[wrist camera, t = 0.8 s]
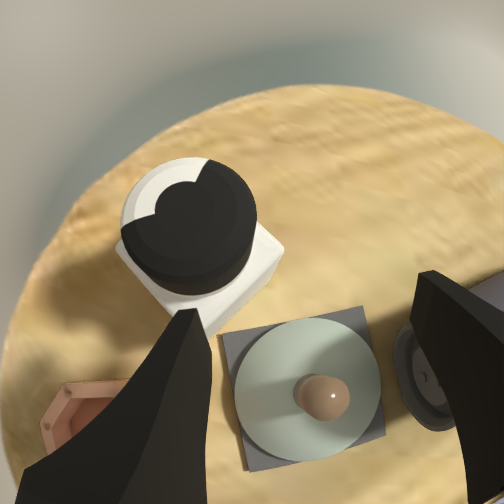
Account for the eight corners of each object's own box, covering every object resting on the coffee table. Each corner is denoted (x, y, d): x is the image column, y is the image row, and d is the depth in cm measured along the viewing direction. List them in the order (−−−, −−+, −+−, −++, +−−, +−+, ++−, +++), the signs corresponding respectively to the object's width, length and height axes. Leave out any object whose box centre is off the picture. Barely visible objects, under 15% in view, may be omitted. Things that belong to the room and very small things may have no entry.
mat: (384, 433, 21) (386, 434, 20) (249, 470, 20) (249, 472, 19) (360, 306, 24) (362, 305, 24) (222, 333, 23) (222, 333, 22)
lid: (386, 434, 20) (414, 447, 16) (249, 472, 19) (253, 496, 15) (362, 305, 24) (388, 294, 19) (222, 333, 22) (219, 328, 18)
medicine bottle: (272, 278, 24) (307, 209, 13) (205, 344, 23) (177, 333, 11) (208, 216, 26) (194, 115, 14) (142, 276, 24) (75, 209, 12)
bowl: (195, 493, 19) (190, 513, 15) (81, 491, 17) (63, 505, 14) (168, 374, 22) (157, 378, 18) (55, 381, 20) (32, 383, 17)
